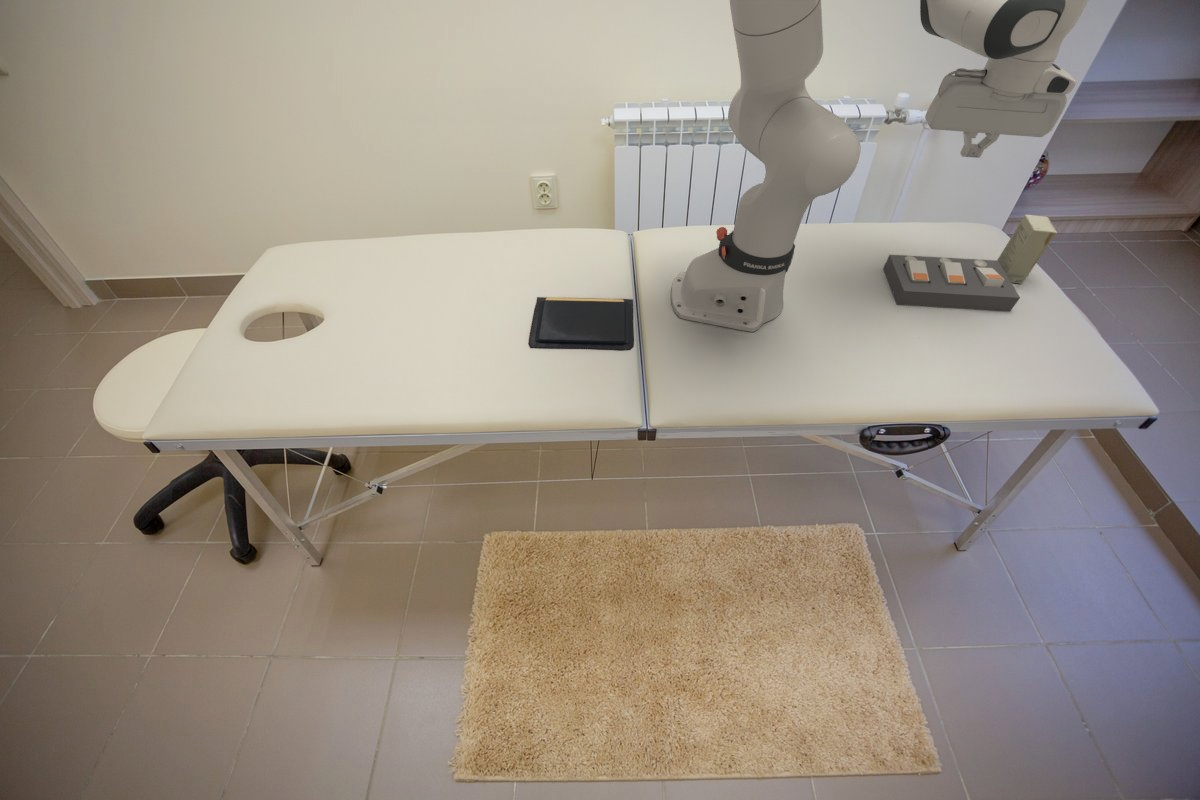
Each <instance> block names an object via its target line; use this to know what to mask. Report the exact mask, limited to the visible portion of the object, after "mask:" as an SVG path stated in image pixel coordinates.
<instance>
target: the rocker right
mask: <svg viewBox="0 0 1200 800" xmlns="http://www.w3.org/2000/svg"><path fill="white" fill-rule="evenodd" d="M975 272H976V274H977V276H978V278H979V280H980V282H981V283H982V285H983V286H984V287H1001V285H1002V283H1003V281H1004V278H1002V277H1001V276H1000V275H999V274H998V273H997V272H996V271H995V270H994V269H993V268H981V267H976V269H975Z"/></svg>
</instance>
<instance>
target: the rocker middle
mask: <svg viewBox="0 0 1200 800" xmlns="http://www.w3.org/2000/svg"><path fill="white" fill-rule="evenodd" d="M940 271H941V273H942V276H943V278H944V280H945V282H946V284H949V285H964V284H965V279H964V275H963V271H962V267H961V263H956V262H944V263H943V264H942V265H941V266H940Z"/></svg>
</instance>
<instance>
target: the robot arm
mask: <svg viewBox="0 0 1200 800" xmlns="http://www.w3.org/2000/svg"><path fill="white" fill-rule="evenodd" d="M919 2H920V5H919V13H920V14H919V17H920V23H921V26H922V27H923V29H924V31H925V32H926V33H928V34H929V35H932V36H935V37H937V38H941V39H944V40H947V41H949V42H952V43H954V44H955V45H958V46H960V47H962V48H964V49H966V50H969V51H971V52H973V53H975V54H977V55H980V56H982V57H984V58H987V61H986V63H985V65H984V67H983V69H976V68H975V69H973V68H972V69H967V68H965V67H964V68H963V67H962V68H959V67H958V68H956V69H955V70H953V71H950V72H949V73H948V74H946V75H945V76H944V77H943V78H942V81H941V83H940V85H939V87H938V91H937V93H936V95H935V97H934V98H933V100H931V103H930V105H929V107H928V109H927V110H926V113H925V115H924V118H925V122H926V124H927V126H928V127H929V128H930V129H931V130H937V131H948V132H949V131H950V132H951V131H952V132H963V133H962V134H963V143H964V144H963V147H961V150H960V153H959V154H960V156H961V157H964V158H965V157H966V158H975V159H977V158H981V156H982V155H983V153H984V151H985V150H986V149H987V148H989V147H990V146H991V145H993V143H996V141H997V140H998V139H999V137H1000V135H1006V136H1020V137H1033V138H1043V137H1045V136H1046V135H1048V134H1049V133H1050V132H1052V130H1053V129H1054V127H1055V126H1056V124H1057V122H1058V120H1059V119H1060V117H1061V115H1062V113H1063V111H1064V109H1065V107H1066V105H1067V102H1068V97H1067V96H1066V95H1068V94H1070V93H1071V92H1072V91H1073V90H1074V88H1075V86H1076V83H1077V81H1076V80H1075V78H1074V77H1073V76H1072V75H1071V74H1070V73H1069V72H1067V71H1066V70H1065V69H1063V68H1062V67H1060V66H1059V65H1057V64H1055V60H1056V59H1057V57H1058V54H1059V52H1060V47H1061V45H1062V43H1063V42H1064V39H1065V37H1066V36H1067V35H1068V34H1069V33H1070V32H1071V31H1072V30H1073V28H1074V27H1075V26H1076V24H1077V23H1078V20H1079V19H1080V18H1081V15H1082V14H1083V13H1084V10H1085V9H1086V6H1087V5H1088V3H1089V0H920V1H919ZM729 5H730V6H729V7H730V13H731V14H730V15H731V20H732V21H731V22H732V27H733V32H734V38H735V46H736V50H737V56H738V63H739V69H740V70H739V71H740V88H739V89H738V90H737V91H736V93H735V95H734V96H733V98H732V100H731V102H730V105H729V108H728V113H727V121H728V125H729V127H730V129H731V131H732V133H733V134H734V136H735V138H736V139H737V140H738V142H739V143H740V145H741V146H742V147H743V148H744V149H745V150H747V151H748V152H749V153H751V154H752V155H753V156H754V157H755V158H756V159H757V160H759V161H760V162H762V164H764V168H765V175H764V179H763V181H762V182H760V183H758V184H755V185H754V186H752V187H750V188H749V189H747V190H746V191H745V192H743V194H742V196H741V197H740V200H739V203H738V207H737V212H736V216H735V217H736V218H735V222H734V226H733V230H731V232H730V233H728V229H727V228H726V227H724V226H721V227H719V228H718V229H717V230H716V239H717V241H719V244H718V247H717V248H714V249H713V250H710V251H709V252H705V253H704V254H702V255H701V254H700V255H699V256H696V257H695V258H693V259H692V260H691V262H690V263H689V265H688V267H687V269H686V271H682V272H679V273H678V274H677V275H676V276H675V278H674V280H673V282H672V284H671V289H670V302H671V306H672V309H673V311H674V313H675V314H676V315H677V316H678V317H679V318H680V319H682V320H688V321H693V322H698V323H704V324H709V325H713V326H718V327H724V328H730V329H735V330H740V331H745V332H750V333H751V332H756V331H757V330H758V329H760V327H762V325H764V324H766V323H767V322H770V321H772V320H775V319H776V318H777V317H778V316H780V314H781V313H782V312H783V309H784V286H785V279H786V275H787V273H788V271H789V268H790V267H791V264H792V261H793V258H794V254H795V249H796V245H795V241H796V238H797V234H798V232H799V230H800V229H799V228H800V225H801V222H802V220H803V217H804V215H805V213H806V211H807V209H808V207H809V206H810V204H811V203H813V201H814V200H815V199H817V198H818V197H820V196H826V195H828V194H830V193H833V192H834V191H836V190H838V189H839V188H840V187H842V186H844V185H845V183H847V181H848V180H849V179H850V178H851V176H852V175H853V174H854V172H855V171H856V168H857V166H858V164H859V161H860V158H861V157H860V156H861V150H862V149H861V148H862V145H861V141H860V139H859V138H858V136H857V135H856V134H855V132H854V131H853V130H852V129H851V128H850V126H849V125H848V124H847V123H846V122H845V121H844V120H843V118H841V117H840V116H839V115H837V114H836V113H834V112H832V111H830V110H829V109H827V108H826V107H824V106H822V104H819V103H818V102H816V101H815V100H814V99H813V98H812V97H811V95H810V94H809V91H808V90H807V87H806V80H807V78H809V77H810V76H811V74H813V72H814V71H815V70H816V68H817V67H818V65H819V64H820V62H821V60H822V58H823V53H824V33H823V32H824V31H823V16H822V15H823V13H822V0H729ZM979 133H981V134H985V137H983V138H982V139H981V140H980V141H979V142H978V143H972V142H973V141H972V140H973V139H976V138H977V136H978V134H979Z"/></svg>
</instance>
